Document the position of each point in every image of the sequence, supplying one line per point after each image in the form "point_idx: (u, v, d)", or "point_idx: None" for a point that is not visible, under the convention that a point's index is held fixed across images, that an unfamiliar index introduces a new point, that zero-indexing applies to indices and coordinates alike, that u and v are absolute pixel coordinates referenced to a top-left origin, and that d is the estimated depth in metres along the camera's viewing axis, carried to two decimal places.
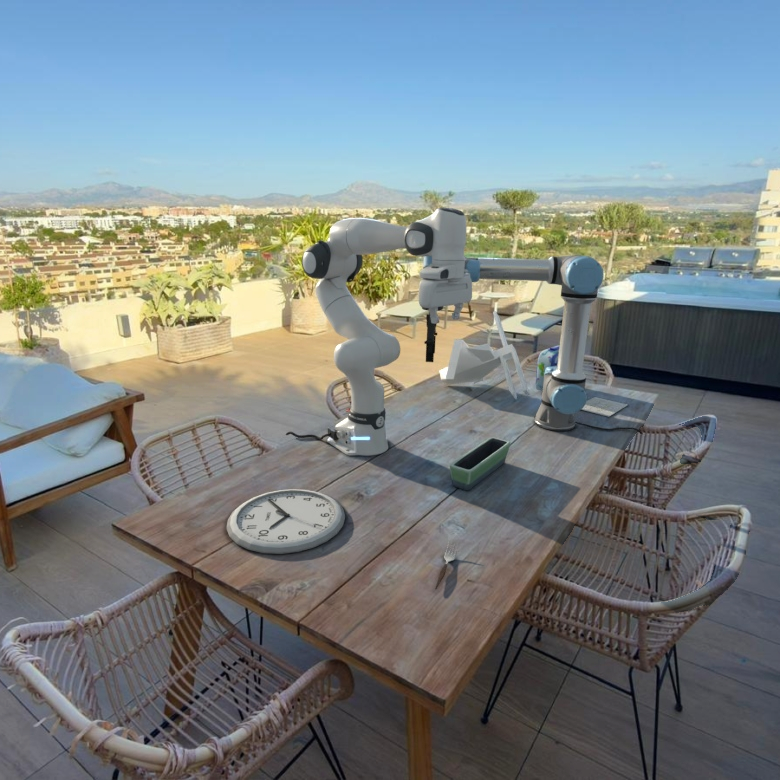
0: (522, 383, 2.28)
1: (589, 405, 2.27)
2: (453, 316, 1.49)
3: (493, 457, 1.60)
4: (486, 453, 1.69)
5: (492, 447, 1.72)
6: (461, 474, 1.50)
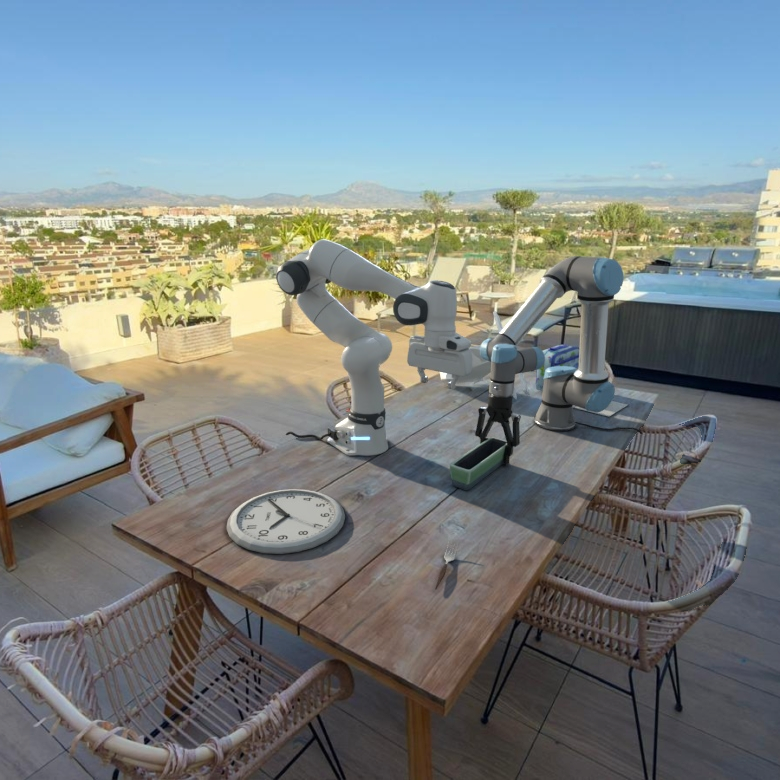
0: (522, 383, 2.28)
1: None
2: (425, 380, 1.55)
3: (493, 457, 1.60)
4: (486, 453, 1.69)
5: (492, 447, 1.72)
6: (461, 474, 1.50)
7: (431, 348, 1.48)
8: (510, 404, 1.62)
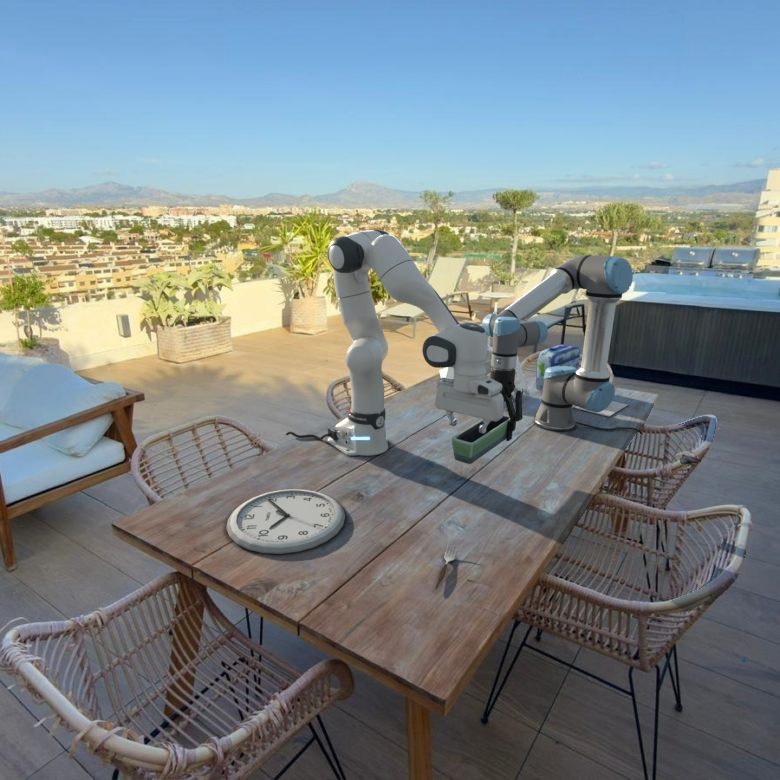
0: (522, 383, 2.28)
1: None
2: (454, 423, 1.51)
3: (496, 431, 1.57)
4: (488, 429, 1.67)
5: (494, 423, 1.69)
6: (463, 447, 1.48)
7: (461, 392, 1.44)
8: (513, 378, 1.59)
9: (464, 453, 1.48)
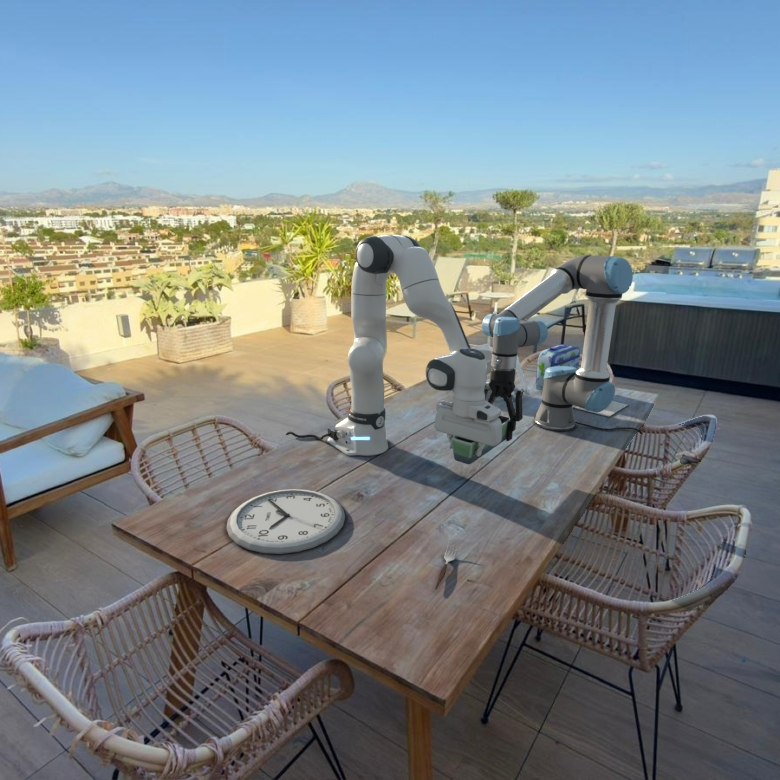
0: (522, 383, 2.28)
1: None
2: None
3: None
4: None
5: None
6: (463, 447, 1.48)
7: (460, 416, 1.46)
8: (513, 378, 1.59)
9: (464, 453, 1.49)
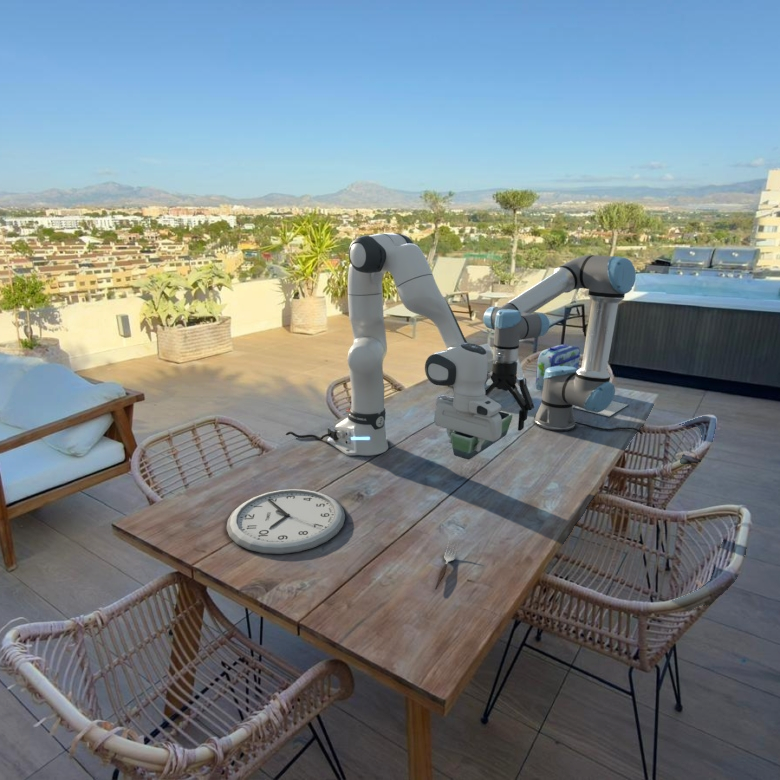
0: None
1: None
2: None
3: None
4: None
5: None
6: (462, 442, 1.48)
7: (460, 411, 1.46)
8: (515, 370, 1.59)
9: (463, 448, 1.48)
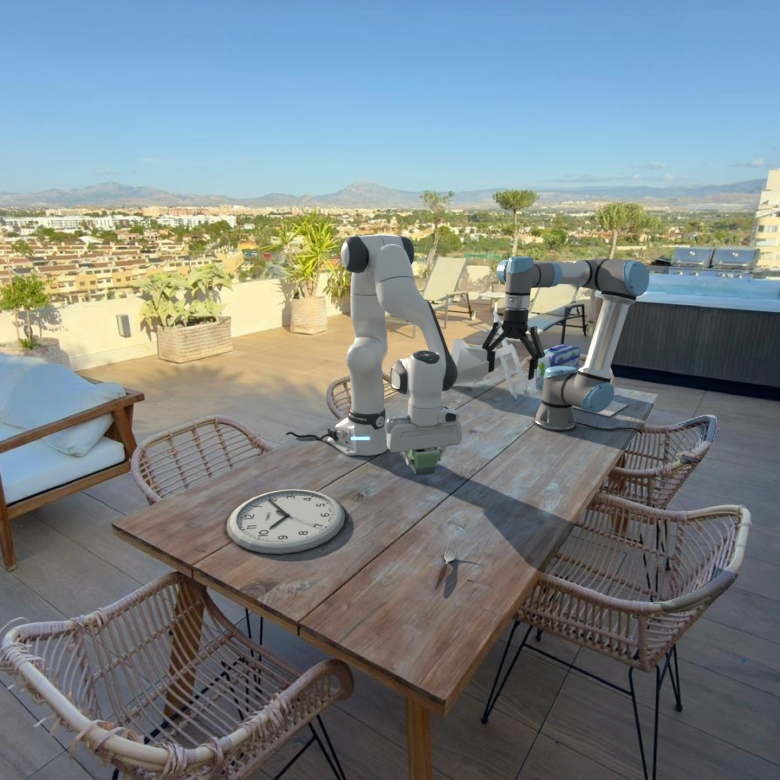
0: (522, 383, 2.28)
1: None
2: None
3: None
4: None
5: None
6: (430, 458, 1.37)
7: (426, 426, 1.34)
8: (526, 318, 1.59)
9: (430, 464, 1.38)
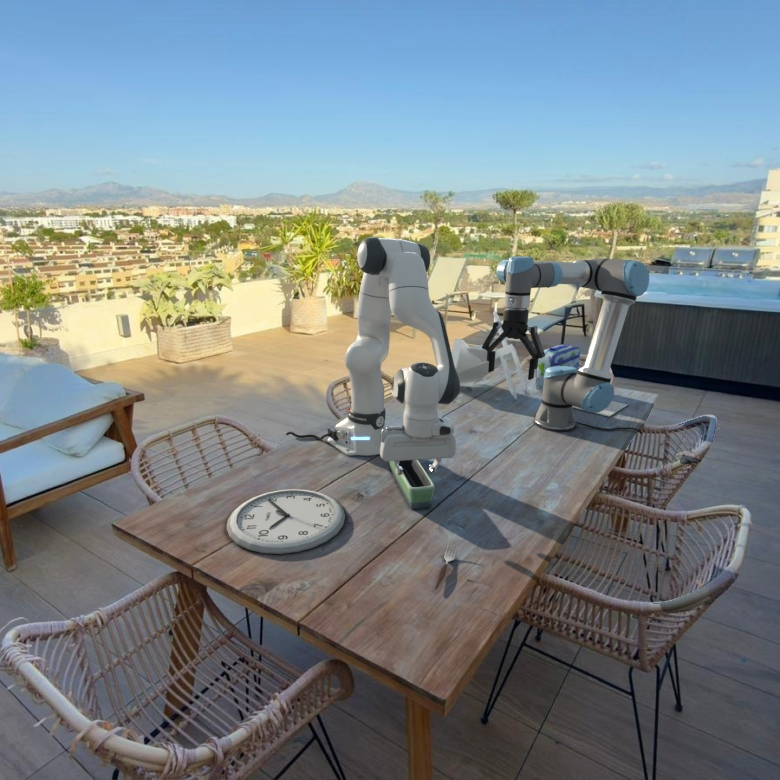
0: (522, 383, 2.28)
1: None
2: None
3: None
4: None
5: None
6: (425, 493, 1.39)
7: (419, 438, 1.34)
8: (526, 318, 1.59)
9: (425, 498, 1.40)
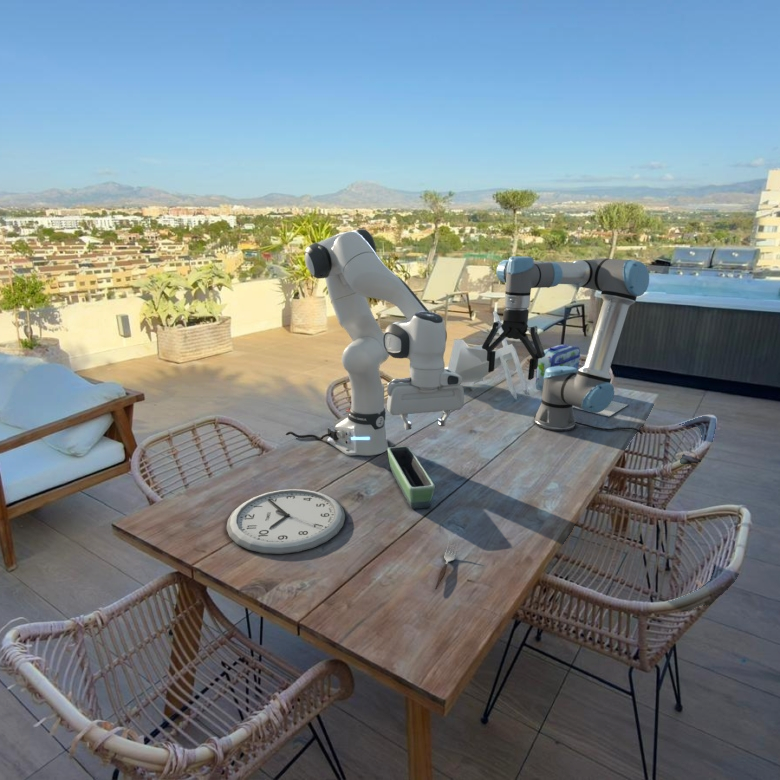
0: (522, 383, 2.28)
1: None
2: None
3: None
4: None
5: None
6: (425, 493, 1.39)
7: (427, 389, 1.31)
8: (526, 318, 1.59)
9: (425, 498, 1.40)
